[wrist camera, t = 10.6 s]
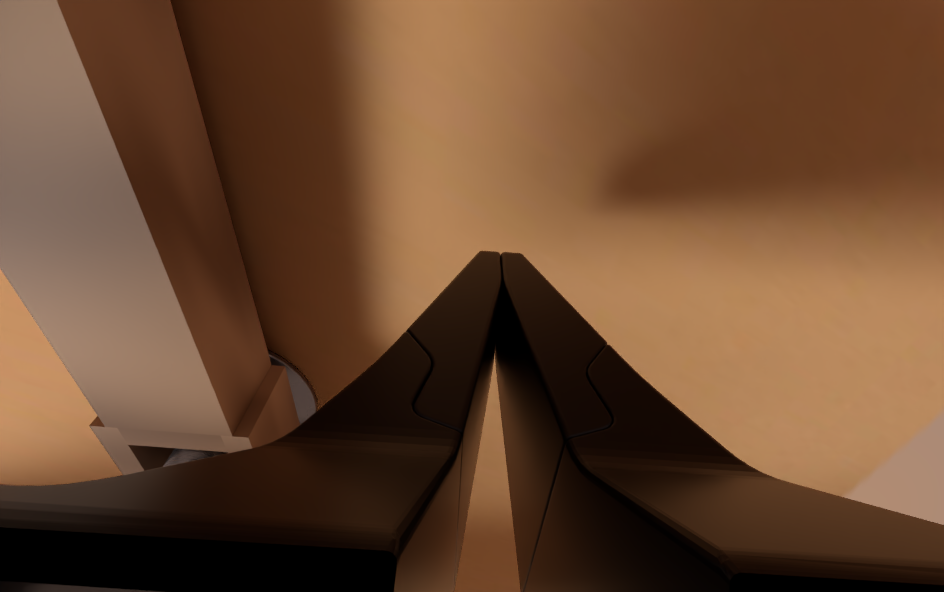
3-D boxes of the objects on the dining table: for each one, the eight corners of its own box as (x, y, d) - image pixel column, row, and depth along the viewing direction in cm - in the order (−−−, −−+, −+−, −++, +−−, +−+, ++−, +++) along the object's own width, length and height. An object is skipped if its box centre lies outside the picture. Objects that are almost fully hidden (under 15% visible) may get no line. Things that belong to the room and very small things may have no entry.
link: (305, 447, 16) (278, 518, 14) (190, 439, 16) (146, 508, 14) (147, -175, 7) (0, -232, 5) (-125, -198, 7) (-387, -264, 5)
